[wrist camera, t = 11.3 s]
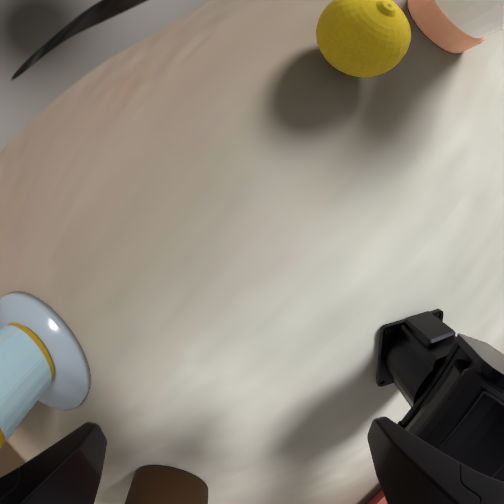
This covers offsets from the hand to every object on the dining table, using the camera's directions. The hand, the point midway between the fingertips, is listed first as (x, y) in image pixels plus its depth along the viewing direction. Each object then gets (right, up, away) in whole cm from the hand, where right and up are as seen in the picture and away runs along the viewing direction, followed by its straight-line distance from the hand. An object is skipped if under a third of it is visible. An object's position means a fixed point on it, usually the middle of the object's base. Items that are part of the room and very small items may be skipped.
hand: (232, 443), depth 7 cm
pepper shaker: (+18, +27, +8) cm, 34 cm away
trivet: (-21, -4, +14) cm, 25 cm away
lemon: (+7, +20, +9) cm, 23 cm away
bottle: (-20, -4, +12) cm, 24 cm away
